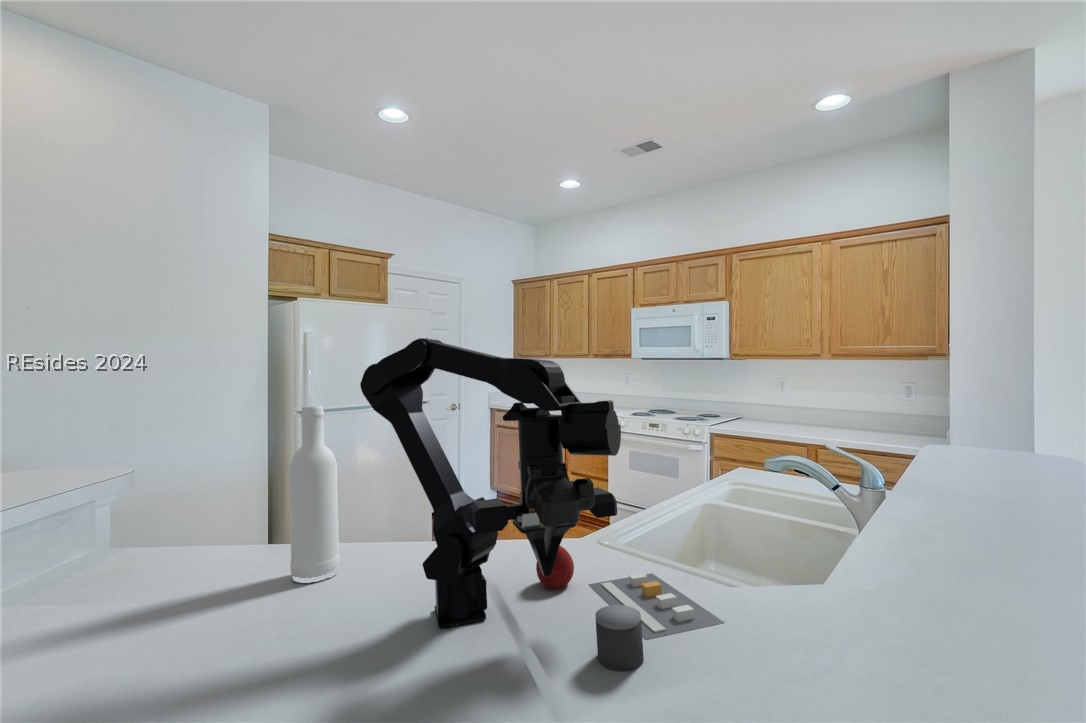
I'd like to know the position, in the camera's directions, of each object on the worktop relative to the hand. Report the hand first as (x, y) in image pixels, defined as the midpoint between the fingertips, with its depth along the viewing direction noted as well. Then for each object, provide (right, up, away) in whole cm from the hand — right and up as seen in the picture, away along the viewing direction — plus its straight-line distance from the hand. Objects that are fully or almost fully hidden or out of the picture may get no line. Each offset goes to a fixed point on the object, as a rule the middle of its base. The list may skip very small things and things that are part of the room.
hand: (546, 575), depth 64 cm
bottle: (-41, -10, +24) cm, 48 cm away
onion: (+2, -8, +12) cm, 14 cm away
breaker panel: (+14, -7, +4) cm, 16 cm away
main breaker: (+15, -6, +7) cm, 17 cm away
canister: (+8, -6, -10) cm, 14 cm away
